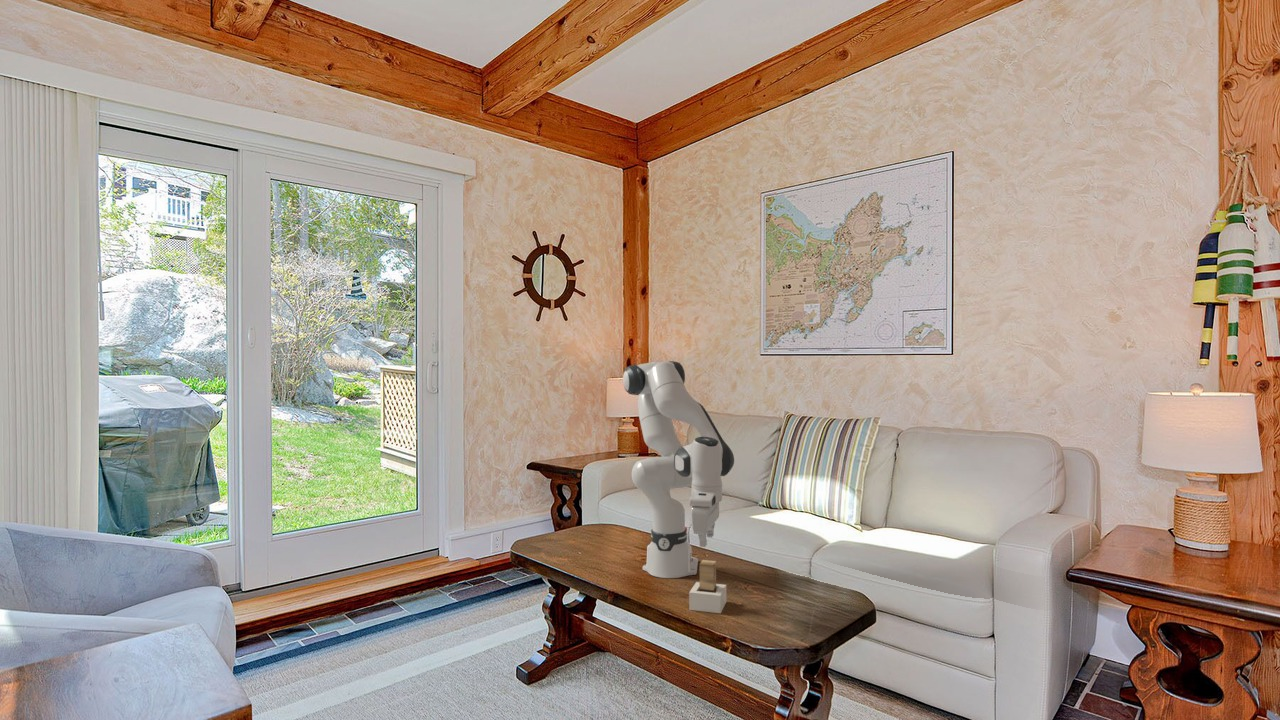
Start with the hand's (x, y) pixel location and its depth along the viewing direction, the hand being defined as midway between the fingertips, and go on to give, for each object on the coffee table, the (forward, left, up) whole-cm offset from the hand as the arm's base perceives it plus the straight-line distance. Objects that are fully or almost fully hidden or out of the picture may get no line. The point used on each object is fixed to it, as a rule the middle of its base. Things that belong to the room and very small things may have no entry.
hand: (706, 541), depth 185 cm
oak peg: (0, 0, -18) cm, 18 cm away
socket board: (0, 0, -19) cm, 19 cm away
